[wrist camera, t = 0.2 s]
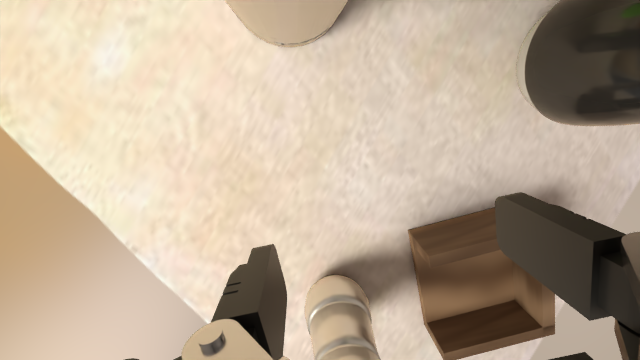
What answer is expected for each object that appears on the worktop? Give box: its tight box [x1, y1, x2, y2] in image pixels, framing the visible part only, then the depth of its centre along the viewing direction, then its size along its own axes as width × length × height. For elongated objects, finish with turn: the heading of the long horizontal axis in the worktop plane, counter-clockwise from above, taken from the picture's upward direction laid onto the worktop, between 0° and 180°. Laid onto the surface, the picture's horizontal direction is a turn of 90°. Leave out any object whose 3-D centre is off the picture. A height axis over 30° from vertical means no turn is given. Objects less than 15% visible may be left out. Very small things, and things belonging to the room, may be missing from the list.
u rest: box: [408, 208, 555, 360], centre depth 30 cm, size 12×11×5 cm
